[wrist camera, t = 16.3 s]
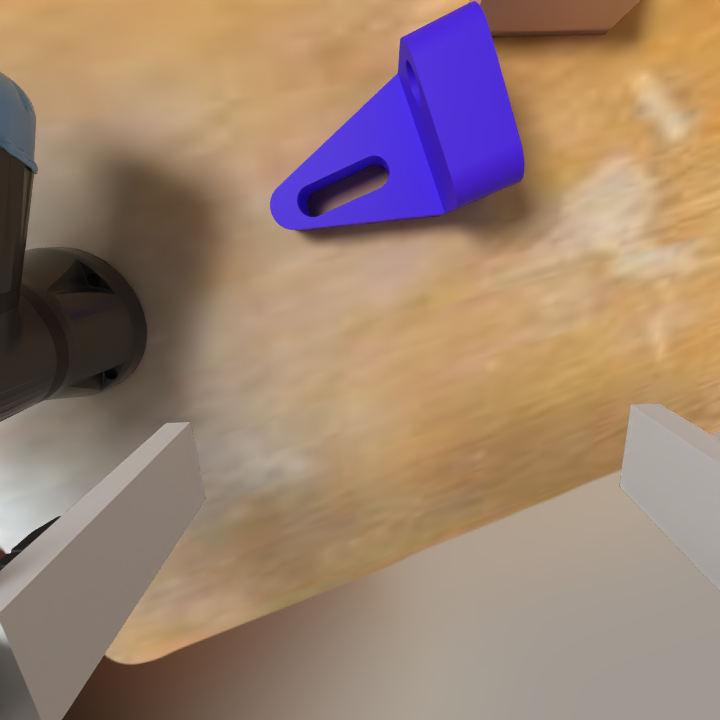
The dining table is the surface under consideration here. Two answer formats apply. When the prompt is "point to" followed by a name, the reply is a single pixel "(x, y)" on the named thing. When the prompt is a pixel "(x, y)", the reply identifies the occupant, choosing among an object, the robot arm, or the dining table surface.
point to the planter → (553, 16)
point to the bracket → (419, 134)
